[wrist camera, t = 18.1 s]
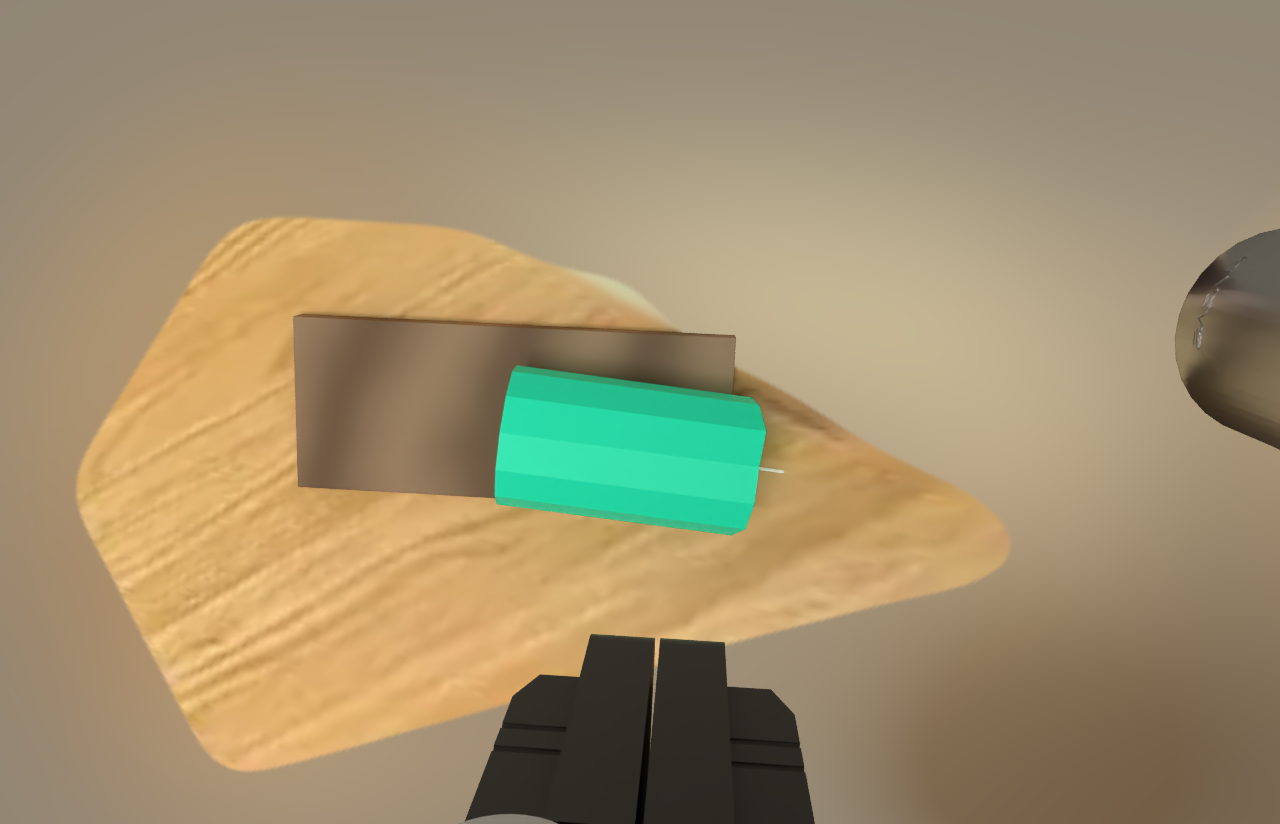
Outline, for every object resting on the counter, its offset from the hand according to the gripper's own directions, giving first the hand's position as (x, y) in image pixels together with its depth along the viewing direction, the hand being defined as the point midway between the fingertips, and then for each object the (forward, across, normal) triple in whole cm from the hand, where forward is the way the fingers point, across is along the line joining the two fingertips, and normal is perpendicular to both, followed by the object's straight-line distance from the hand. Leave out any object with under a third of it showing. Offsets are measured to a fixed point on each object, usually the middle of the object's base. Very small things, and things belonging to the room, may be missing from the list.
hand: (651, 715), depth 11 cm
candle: (+31, +8, +4) cm, 32 cm away
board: (+35, +8, +4) cm, 36 cm away
